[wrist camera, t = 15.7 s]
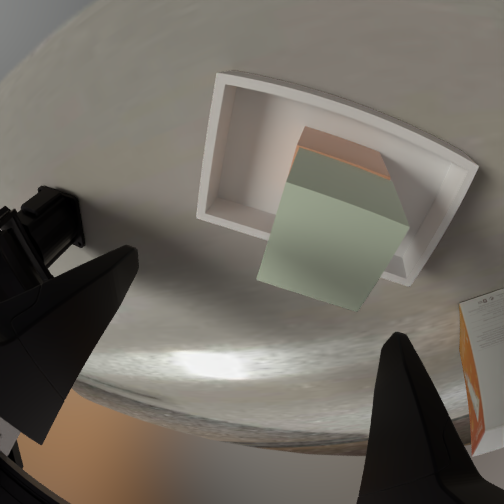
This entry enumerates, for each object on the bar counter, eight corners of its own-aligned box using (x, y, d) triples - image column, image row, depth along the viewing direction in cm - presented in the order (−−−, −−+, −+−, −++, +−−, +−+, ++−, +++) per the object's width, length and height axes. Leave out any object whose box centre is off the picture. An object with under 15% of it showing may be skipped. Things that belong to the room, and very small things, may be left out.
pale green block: (392, 181, 14) (409, 227, 10) (355, 255, 17) (357, 312, 13) (299, 147, 14) (285, 181, 11) (274, 227, 17) (256, 279, 14)
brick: (353, 215, 20) (355, 253, 17) (285, 193, 21) (273, 226, 17) (379, 151, 17) (390, 177, 14) (304, 125, 18) (296, 144, 14)
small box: (457, 301, 23) (484, 432, 13) (513, 283, 20) (556, 404, 10) (457, 349, 26) (470, 458, 16) (505, 334, 23) (529, 438, 13)
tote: (404, 261, 22) (409, 287, 20) (211, 198, 23) (196, 218, 21) (461, 150, 16) (479, 166, 13) (233, 70, 17) (216, 72, 14)
